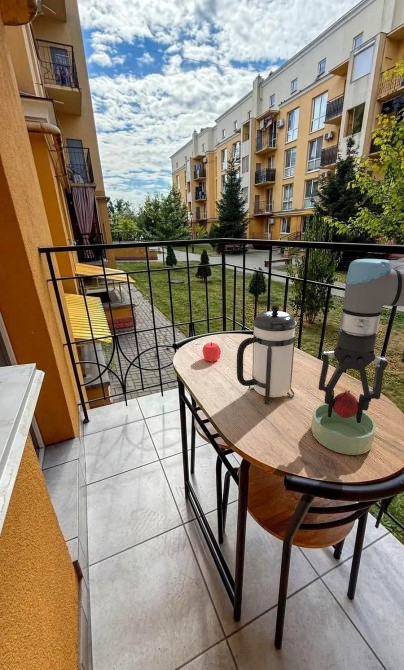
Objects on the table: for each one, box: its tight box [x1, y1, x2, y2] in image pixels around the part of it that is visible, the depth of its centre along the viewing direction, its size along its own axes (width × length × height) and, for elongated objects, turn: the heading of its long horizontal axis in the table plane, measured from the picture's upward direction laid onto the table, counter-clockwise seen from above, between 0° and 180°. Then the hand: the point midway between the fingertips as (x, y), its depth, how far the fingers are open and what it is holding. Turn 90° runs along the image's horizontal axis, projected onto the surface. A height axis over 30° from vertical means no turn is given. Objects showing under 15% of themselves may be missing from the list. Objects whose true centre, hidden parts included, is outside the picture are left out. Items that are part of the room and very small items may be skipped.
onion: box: [333, 389, 359, 418], centre depth 69 cm, size 6×6×8 cm
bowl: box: [310, 402, 377, 456], centre depth 72 cm, size 14×14×6 cm
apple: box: [201, 341, 222, 363], centre depth 118 cm, size 8×8×8 cm
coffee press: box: [236, 304, 298, 405], centre depth 87 cm, size 17×16×30 cm
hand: (343, 416), depth 71 cm, fingers closed on onion, 6 cm apart
